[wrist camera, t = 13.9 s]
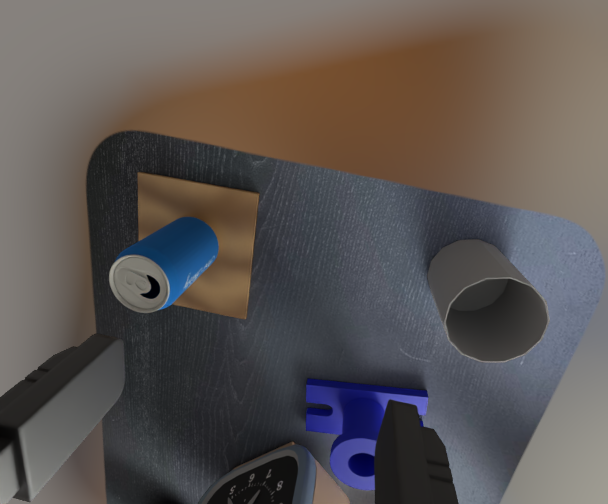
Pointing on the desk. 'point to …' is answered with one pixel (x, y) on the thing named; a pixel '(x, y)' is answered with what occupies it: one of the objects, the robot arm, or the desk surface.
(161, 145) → the desk surface
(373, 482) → the mount
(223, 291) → the cork mat
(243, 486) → the alarm clock
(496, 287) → the cup
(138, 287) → the beverage can
